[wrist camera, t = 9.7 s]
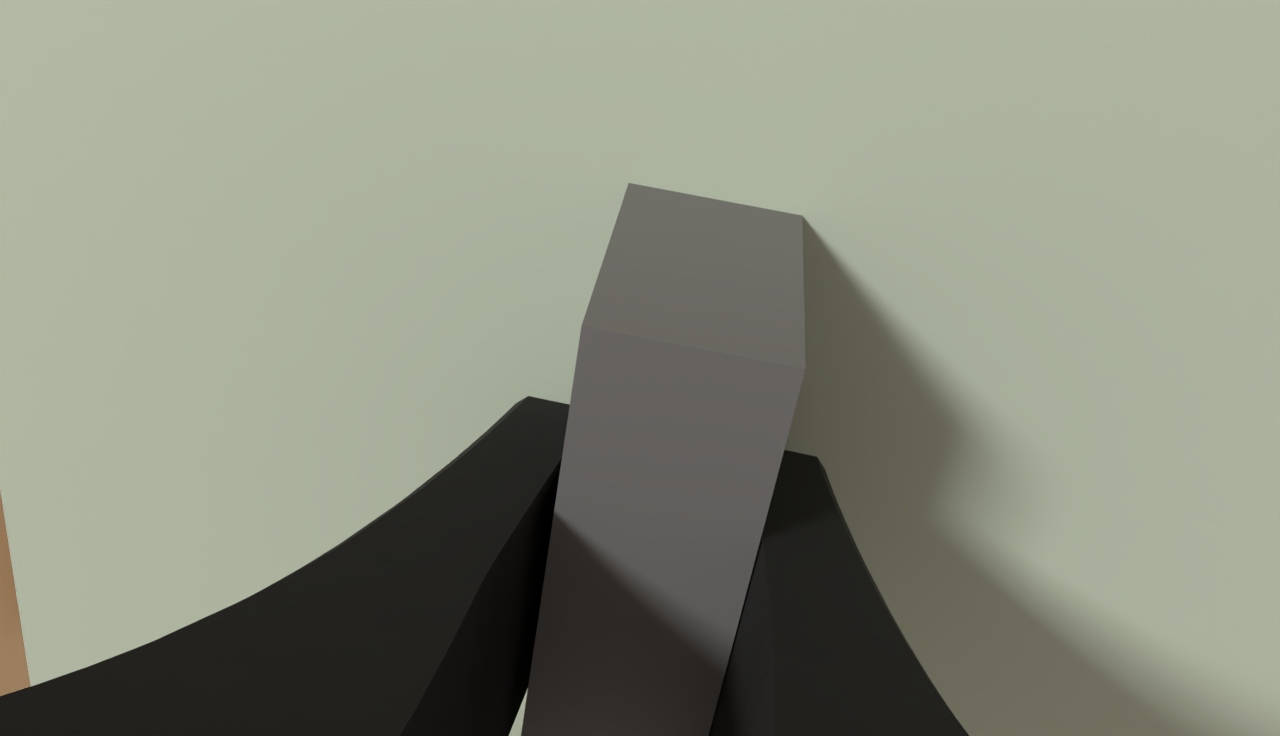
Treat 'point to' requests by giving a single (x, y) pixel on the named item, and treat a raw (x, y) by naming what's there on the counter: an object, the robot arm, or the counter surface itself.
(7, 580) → the counter surface
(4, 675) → the counter surface
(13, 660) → the counter surface
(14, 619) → the counter surface
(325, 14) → the lid
